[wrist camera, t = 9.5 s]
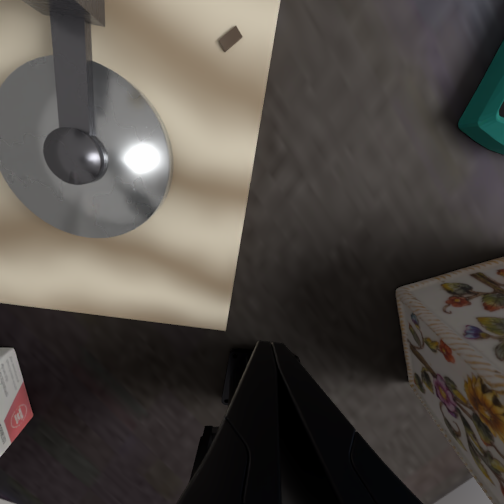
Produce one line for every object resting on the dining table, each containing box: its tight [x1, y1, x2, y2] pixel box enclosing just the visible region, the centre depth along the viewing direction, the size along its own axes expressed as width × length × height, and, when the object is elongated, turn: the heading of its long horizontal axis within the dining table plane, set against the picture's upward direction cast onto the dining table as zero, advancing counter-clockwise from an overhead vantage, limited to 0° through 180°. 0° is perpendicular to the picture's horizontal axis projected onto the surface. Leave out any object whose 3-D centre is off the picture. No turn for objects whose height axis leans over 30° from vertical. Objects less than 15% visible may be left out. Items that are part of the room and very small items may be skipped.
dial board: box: [0, 0, 280, 331], centre depth 18 cm, size 24×20×2 cm
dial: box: [0, 0, 174, 238], centre depth 14 cm, size 14×10×5 cm
